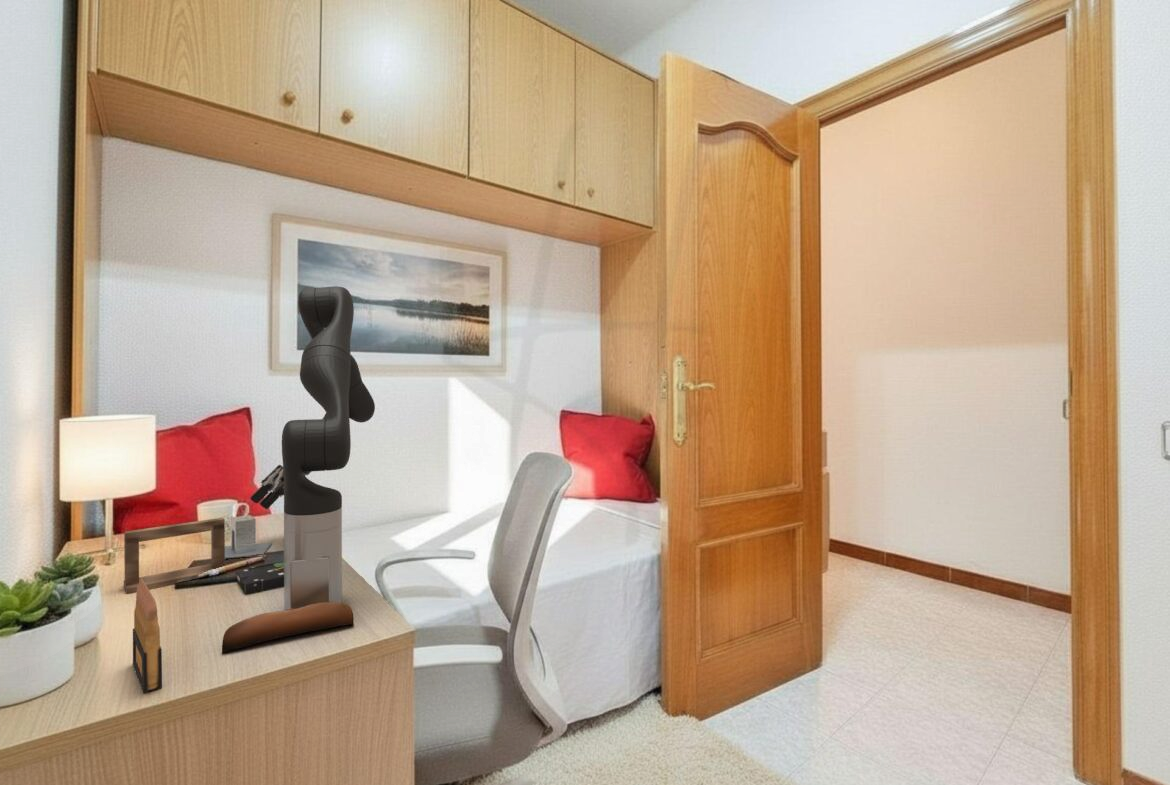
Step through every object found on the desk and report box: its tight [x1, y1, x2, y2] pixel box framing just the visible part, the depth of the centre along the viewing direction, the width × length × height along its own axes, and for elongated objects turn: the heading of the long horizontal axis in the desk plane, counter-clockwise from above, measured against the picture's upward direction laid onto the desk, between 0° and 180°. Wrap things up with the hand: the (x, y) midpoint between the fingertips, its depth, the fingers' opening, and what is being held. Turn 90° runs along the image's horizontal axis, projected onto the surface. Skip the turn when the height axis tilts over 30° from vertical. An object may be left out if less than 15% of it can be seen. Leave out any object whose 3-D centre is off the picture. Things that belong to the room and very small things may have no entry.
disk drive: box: [235, 560, 284, 596], centre depth 109 cm, size 10×3×15 cm
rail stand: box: [123, 517, 226, 595], centre depth 108 cm, size 16×6×11 cm, turn 135°
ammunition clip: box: [132, 579, 163, 694], centre depth 72 cm, size 11×2×12 cm, turn 46°
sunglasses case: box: [221, 602, 355, 654], centre depth 85 cm, size 18×7×7 cm
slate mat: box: [225, 542, 273, 559], centre depth 126 cm, size 10×10×1 cm
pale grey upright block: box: [230, 514, 257, 554], centre depth 126 cm, size 4×5×8 cm
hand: (257, 504), depth 128 cm, fingers open, 8 cm apart
